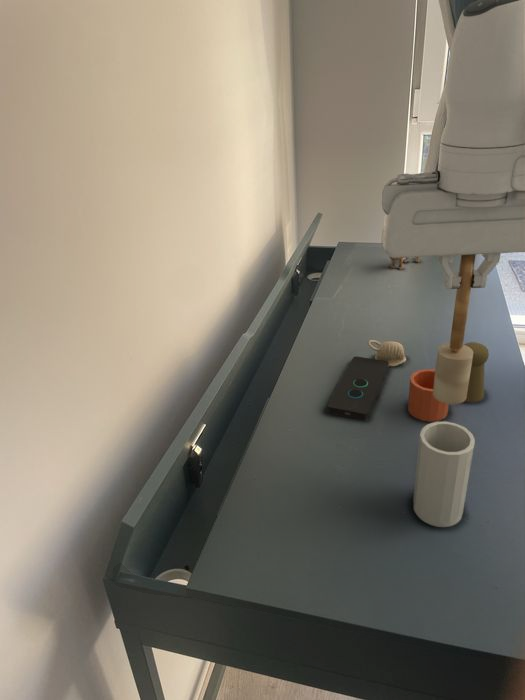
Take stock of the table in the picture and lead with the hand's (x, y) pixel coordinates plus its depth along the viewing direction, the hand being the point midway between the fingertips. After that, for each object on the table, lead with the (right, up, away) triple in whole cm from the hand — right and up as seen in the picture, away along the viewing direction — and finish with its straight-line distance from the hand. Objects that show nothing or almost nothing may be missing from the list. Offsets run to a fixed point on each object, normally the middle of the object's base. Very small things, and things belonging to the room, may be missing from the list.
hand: (464, 286), depth 64 cm
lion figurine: (+20, +19, +102) cm, 106 cm away
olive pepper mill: (+17, -17, +41) cm, 48 cm away
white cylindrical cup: (+2, -32, +16) cm, 36 cm away
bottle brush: (+1, -14, +8) cm, 16 cm away
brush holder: (+7, -19, +38) cm, 43 cm away
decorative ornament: (+3, -10, +54) cm, 55 cm away
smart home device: (-4, -16, +45) cm, 48 cm away
